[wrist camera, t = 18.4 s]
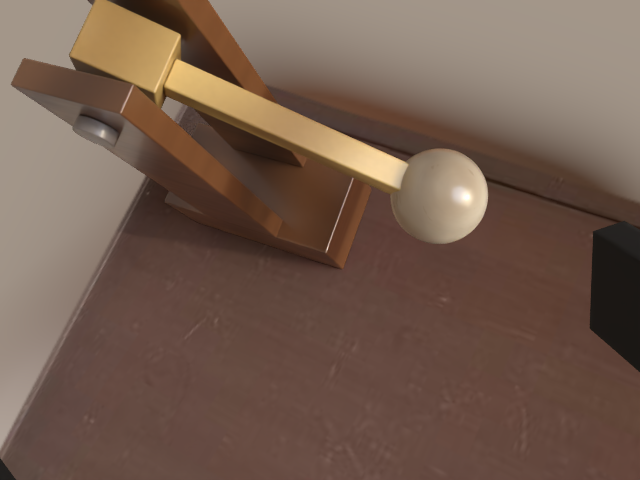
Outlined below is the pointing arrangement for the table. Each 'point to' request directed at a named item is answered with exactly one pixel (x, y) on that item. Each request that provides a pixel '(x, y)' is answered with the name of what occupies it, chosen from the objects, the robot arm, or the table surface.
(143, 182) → the table surface
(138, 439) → the table surface
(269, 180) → the switch bracket
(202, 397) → the table surface
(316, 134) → the switch lever
